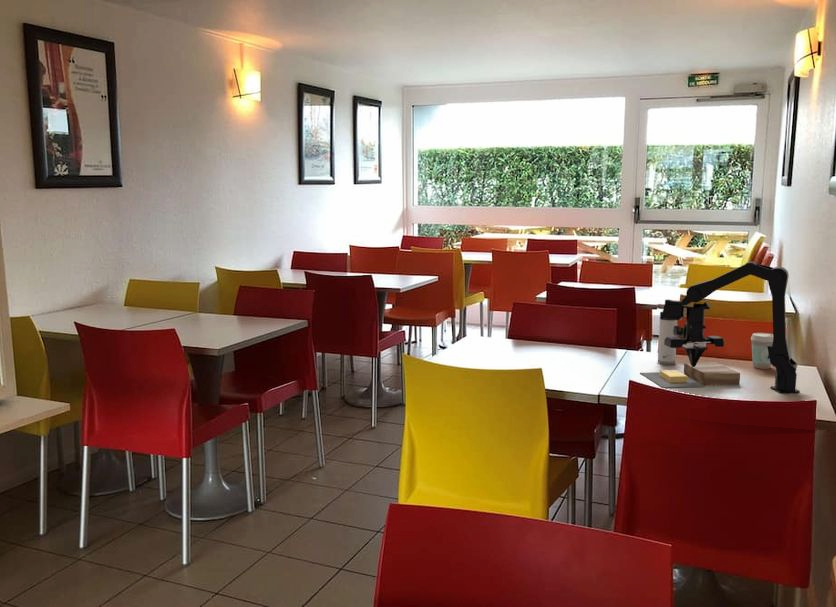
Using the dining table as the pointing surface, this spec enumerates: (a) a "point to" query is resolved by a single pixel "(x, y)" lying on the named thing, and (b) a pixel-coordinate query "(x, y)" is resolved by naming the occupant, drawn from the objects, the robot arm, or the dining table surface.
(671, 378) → the yellow flat block
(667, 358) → the travel mug
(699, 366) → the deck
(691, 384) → the mat
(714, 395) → the dining table surface
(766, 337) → the coffee cup
